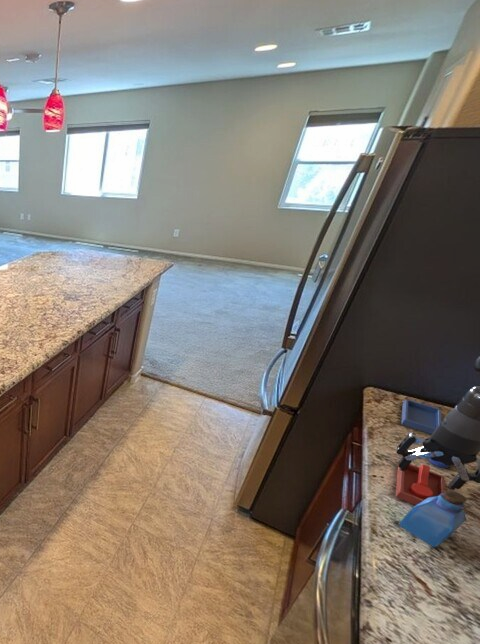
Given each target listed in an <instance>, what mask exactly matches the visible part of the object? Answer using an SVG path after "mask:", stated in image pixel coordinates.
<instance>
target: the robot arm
mask: <svg viewBox="0 0 480 644" xmlns="http://www.w3.org/2000/svg"><path fill="white" fill-rule="evenodd" d="M473 367H474V371H475V372H476V373H477V374H478V375H480V355H479V356H478V357H477V358H476V359H475V361H474V365H473ZM418 444H422V446H420V447H417V448H415V449H411V450H408V449H410V448H411V447H412V445H413V446H416V445H418ZM395 452H396V454H397V455H398V456H402V457H401V459H400V460H399V461H398V463H397V464H398V465H397V468H398V467H399V468H400V470H401V471H405V470H406V468H407V467H408V466H409V465H410V464H412V462H413V460H425V459H430V458H431V460H434V461H437V462H441V463H443V464H445V465H448V466H449V467H450V466H451V467H455V470H456V471H457V474H455V476H454V477H453V478H452V479H451V481H449V483H448V490H452V491H455V489H456V490H460V489H461V488H462V487H463V486H464V485H465V484H466V483H467V482H474V483H476V484H480V456H477V455H478V454H479V453H480V385H479V386H473V387H471V388H469V390H467V391H466V393H465V394H464V395H463V396H462V398H461V399H460V401H458V403H457V404H456V405H455V406H454V408H452V409H451V410H450V411H449V412H448V413H447V414H446V415H445V417H444V418H443V419H442V422H441V423H440V425H439V426H438V427H437V428H436V430H435V431H434V432H433V434H430V436H429V437H427V438H424V437H421V436H418V435H417V434H416V433H415V432H409V433H407V435H406V436H405V437H404V438H403V439H402V440H401V442H400V443H399V444H398V445H397V446H396V451H395ZM471 463H476V464H477V469H476V470H475V472H474V473H472V472H469V471H468V469H467V466H466V464H471Z"/></svg>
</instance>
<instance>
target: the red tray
mask: <svg viewBox="0 0 480 644" xmlns="http://www.w3.org/2000/svg"><path fill="white" fill-rule="evenodd" d="M420 467H421V466H418V465H415V464H412V463H410V465H409V466H408V467H407V468H406V470H405V471H401V470H400V468H399V467H398V466H397V474H396V487H395V498H397V499H399V500H402V501H404V502H407V503H409V504H411V505H414V506H416V505H418V504H419V503H421V502H422V501H424V500H425V499H424V498H420V497H418V496H416V495H414V494H413V493H412V492H411V491H410V487H411V486H412V485H413V484H415V483H417V481H418V474H419V468H420ZM445 478H446V477H445V475H442V474H439V473H436V472H434V471H431V470H429V478H428V485H427V487H428V488H430V489H431V490H432V492H433V495H432V496H431V497H436V496H439V495H440V494H441V493H444V491H445V490H446V479H445Z"/></svg>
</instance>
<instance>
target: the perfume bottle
mask: <svg viewBox="0 0 480 644" xmlns="http://www.w3.org/2000/svg"><path fill="white" fill-rule="evenodd" d="M467 501H468V500H467V498H466V496H464V495H463V494H461V493H459V492H458V491H455V490H452V489H445V491H444V493H441V494H440V495H439V496H436V497H430V498H427V499H425V500H424V501H422V502H421V503H419V504H418V505H414V506H413V507H412V508H411V509H410V510H409V511H408V512H407V514H406V515H404V517H403V518H402V519H401V521H400V522H399V523H398V524H397V526H400V527H401V528H403V529H404V530H405V531H407V532H409V533H410V534H411V535H413V536H415V537H416V538H418V539H420V540H421V541H422V542H424V543H426V544H428V545H429V546H431V547H432V548H436V547H438V546H439V545H440V544H442V543H443V542H445V541H446V540H447V539H448V538H450V537H451V536H452V535H453V534H454V533H455V532H456V531H457V530H458V529H459V528H460V527H461V526H462V525H463V523H464V522H466V521H467V518H466V514H465V510H464V509H462V508H463V507H464V506H465V503H466V502H467Z"/></svg>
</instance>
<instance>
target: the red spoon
mask: <svg viewBox="0 0 480 644" xmlns="http://www.w3.org/2000/svg"><path fill="white" fill-rule="evenodd" d="M419 467H420V468H419V474H418V481H417V483H415V484H413V485H412V486H411V487H410V491H411V492H412V493H413V494H414V495H416V496H418V497H420V498H424V499H427V498H430V497H431V496H432V495H433V492H432V490H431V489H430V488H428V487H427V485H428V478H429V471H430V468H431V467H430V466H429V465H427V464H424V463H422V464H421V465H420V466H419Z"/></svg>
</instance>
